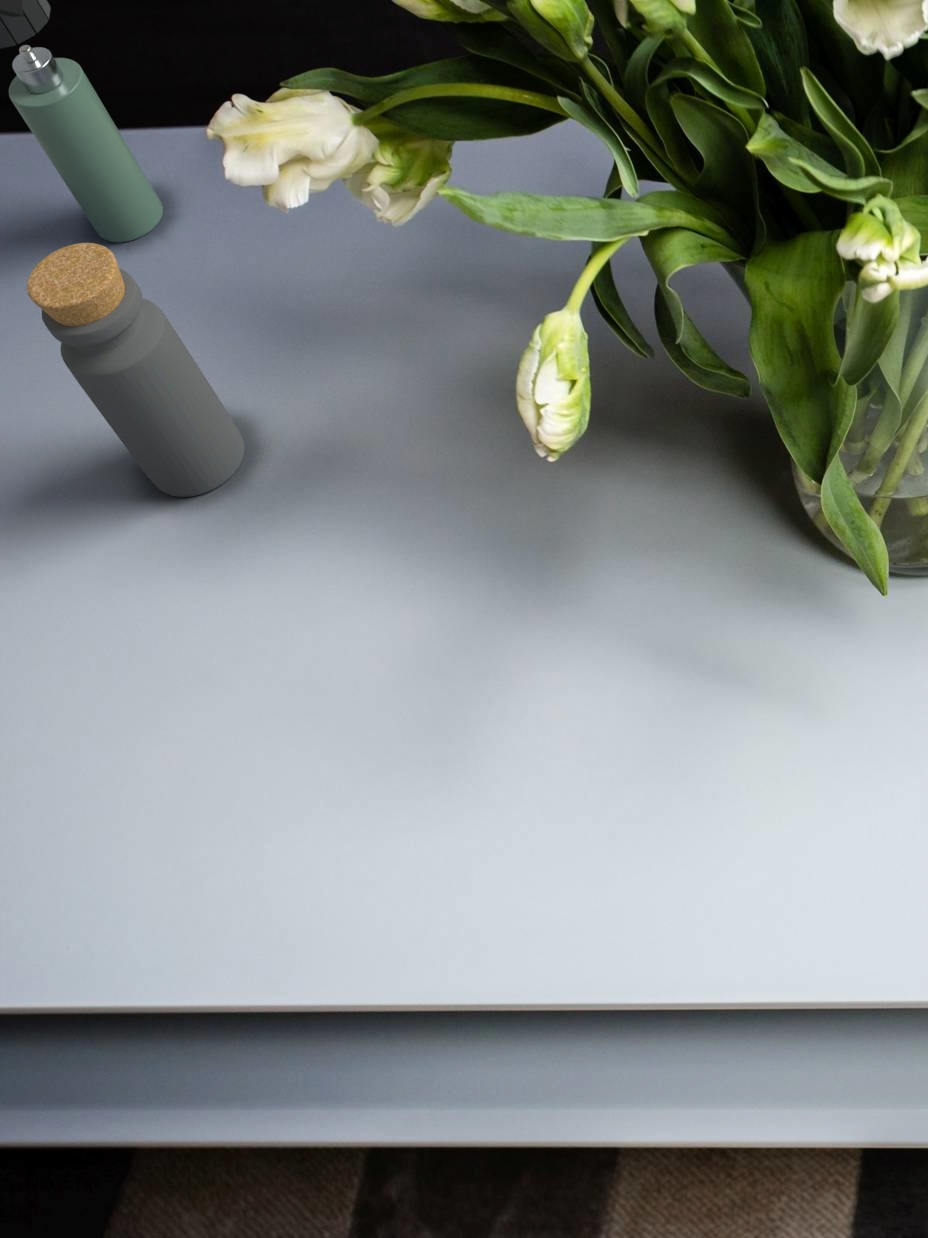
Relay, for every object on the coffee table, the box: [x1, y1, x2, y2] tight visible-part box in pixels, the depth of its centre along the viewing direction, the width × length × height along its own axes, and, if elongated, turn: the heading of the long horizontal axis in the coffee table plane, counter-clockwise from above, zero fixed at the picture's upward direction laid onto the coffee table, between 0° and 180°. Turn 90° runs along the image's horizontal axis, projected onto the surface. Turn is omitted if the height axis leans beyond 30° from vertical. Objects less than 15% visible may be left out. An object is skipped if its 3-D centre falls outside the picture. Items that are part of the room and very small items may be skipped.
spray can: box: [8, 44, 164, 243], centre depth 104 cm, size 5×5×13 cm
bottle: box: [26, 242, 246, 498], centre depth 91 cm, size 6×6×15 cm
